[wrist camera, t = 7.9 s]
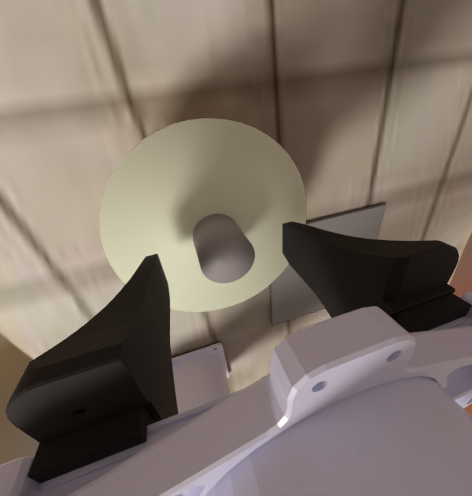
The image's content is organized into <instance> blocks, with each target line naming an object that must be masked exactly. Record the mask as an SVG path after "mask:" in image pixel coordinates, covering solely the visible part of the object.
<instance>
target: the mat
mask: <svg viewBox="0 0 472 496" xmlns="http://www.w3.org/2000/svg"><path fill="white" fill-rule="evenodd" d="M385 208H386V204H380V205H376V206H372V207H368V208H364V209H359V210H355V211H351V212H347V213H343V214H339V215H335V216H331V217H327V218H322V219H318V220H314V221H310V222H306V224H305V225H309V226H312V227H316V228H319V229H323V230H326V231H330V232H334V233H338V234H343V235H348V236H353V237H359V238H367V239H376V240H377V238H378V234H379V230H380V227H381V223H382V219H383V216H384V212H385ZM270 291H271V323H272V325H273V326H274V325H277V324H280V323H283V322H286V321H289V320H292V319H295V318H298V317H301V316H304V315H307V314H310V313H313V312H316V311H319V310H322V309H325V307H324V306H323V304H322V303H321V301H320V300H319V298H318V297H317V296H316V294H315V293H314V292H313V291H312V290H311V288H310V287H309V286H308V285H307V284H306V283H305V282H304V281H303V279H302V278H301V277H300V276H299V275H298V274H297V273H296V271H295V270H294V269H293V268H292V267H291V266H290V264H288V266H287V267H286V268H285V270H284V271H283V272H282V273H281V274H280V275H279V276H278V277H277V279H275V280H274V281H273V282H272V283H271V284H270Z"/></svg>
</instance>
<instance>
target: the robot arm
mask: <svg viewBox="0 0 472 496" xmlns="http://www.w3.org/2000/svg"><path fill="white" fill-rule="evenodd" d="M282 253H283V255H284V256H285V258H286V260H287V261H288V263H289V264H290V266H291V267H292V268H293V269H294V270H295V271H296V273H297V274H298V275H299V276H300V277H301V278H302V279H303V281H304V282H305V283H306V284H307V285H308V286H309V287H310V288H311V290H312V291H313V292H314V293H315V294H316V296H317V297H318V298H319V300H320V301H321V303H322V304H323V306H324V307H325V308H326V310H327V311H328V313H329V315H330V316H331V319H328V320H325V321H322V322H319V323H316V324H313V325H310V326H307V327H304V328H302V329H299V330H297V331H295V332H293V333H291V334H289V335H288V336H286V337H285V338H284V339H283V340H282V341H281V342H280V343H279V344H278V345H277V346H276V347H275V349H274V351H273V354H272V357H271V360H270V367H271V372H270V374H268V375H266V376H265V377H263V378H261V379H260V380H258V381H256V382H255V383H253V384H251V385H250V386H248V387H246V388H245V389H242V390H240V391H237V392H234V393H232V394H231V390H230V386H229V382H228V378H229V372H228V367H227V363H226V359H225V354H224V350H223V345H222V343H216V344H213V345H210V346H207V347H204V348H201V349H198V350H195V351H192V352H189V353H186V354H183V355H180V356H177V357H174V358H171V348H170V294H169V287H168V282H167V279H166V276H165V273H164V270H163V268H162V265H161V262H160V259H159V256H158V254H154V255H150V256H146V257H145V258H144V260H143V261H142V263H141V264H140V265H139V267H138V268H137V270H136V271H135V273H134V274H133V276H132V277H131V278H130V280H129V281H128V282H127V283H126V285H125V286H124V287H123V288H122V290H121V291H120V292H119V293H118V294H117V295H116V296H115V298H114V299H113V300H112V301H111V302H110V303H109V304H108V305H107V306H106V307H105V308H104V309H102V310H101V311H100V312H99V313H98V314H97V315H96V316H94V317H93V318H92V319H91V320H90V321H89V322H87V323H86V324H85V325H84V326H82V327H81V328H80V329H78V330H77V331H76V332H74V333H73V334H72V335H70V336H69V337H68V338H66V339H65V340H63V341H62V342H60V343H59V344H57V345H56V346H54V347H53V348H51V349H50V350H48V351H47V352H45V353H43V354H42V355H40V356H39V357H37V358H36V359H34V360H32V361H31V362H30V363H29V365H28V366H27V368H26V370H25V372H24V374H23V376H22V378H21V380H20V382H19V383H18V385H17V387H16V389H15V391H14V392H13V395H12V396H11V398H10V400H9V402H8V404H7V408H6V414H7V418H8V419H9V421H10V422H11V423H12V424H14V425H15V426H16V427H17V428H19V429H20V430H22V431H23V432H25V433H26V434H28V435H29V436H31V437H32V438H34V439H35V440H37V441H38V442H40V444H39V447H38V449H37V452H36V455H35V457H22V458H18V459H15V460H12V461H10V462H7V463H4V464H1V465H0V496H472V416H471V415H470V414H468V413H467V412H466V411H465V410H464V409H463V408H465V407H467V406H468V405H470V404H472V291H471V292H468V293H466V294H464V295H463V296H462V297H461V298H459V297H457V296H456V295H454V294H452V293H454V292H455V289H454V288H453V287H451V286H450V285H448V284H447V283H448V281H449V279H450V277H451V275H452V273H453V271H454V269H455V268H456V265H457V263H458V258H459V254H458V251H457V249H456V248H455V247H453V246H451V245H448V244H446V243H444V242H441V241H437V240H434V241H390V240H376V239H367V238H359V237H353V236H348V235H343V234H338V233H334V232H330V231H326V230H323V229H319V228H316V227H312V226H309V225H305V224H302V223H298V222H288V223H283V224H282Z"/></svg>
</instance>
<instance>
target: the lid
mask: <svg viewBox="0 0 472 496" xmlns="http://www.w3.org/2000/svg"><path fill="white" fill-rule="evenodd" d="M306 216H307V199H306V193H305V187H304V184H303V181H302V178H301V175H300V173H299V171H298V169H297V167H296V165H295V163H294V162H293V160H292V159H291V157H290V156H289V154H288V153H287V152H286V151H285V150H284V149H283V148H282V147H281V146H280V145H279V144H278V143H277V142H276V141H274V140H273V139H272V138H271V137H269V136H268V135H267V134H265V133H263V132H261V131H260V130H258V129H256V128H254V127H251V126H249V125H246V124H243V123H241V122H236V121H231V120H227V119H213V118H201V119H191V120H186V121H182V122H178V123H174V124H171V125H169V126H166V127H164V128H162V129H159V130H157V131H156V132H154V133H152V134H151V135H149V136H148V137H146V138H144V139H143V140H142V141H141V142H140V143H138V144H137V145H136V146H135V147H134V148H133V149H131V150H130V152H129V153H128V154H127V155H126V156H125V158H124V159H123V160H122V161H121V162H120V164H119V165H118V166H117V168H116V169H115V171H114V173H113V174H112V176H111V178H110V179H109V182H108V184H107V187H106V189H105V192H104V194H103V199H102V203H101V208H100V222H99V226H100V235H101V241H102V244H103V248H104V251H105V254H106V256H107V258H108V260H109V263H110V265H111V266H112V268H113V269H114V271H115V272H116V274H117V275H118V276H119V277H120V279H121V280H122V281H123V282H124V283H125V284H126V283H127V282H128V281H129V280H130V278H131V277H132V276H133V274H134V273H135V271H136V270H137V268H138V267H139V265H140V264H141V263H142V261H143V260H144V258H145V257H146V256H150V255H154V254H158V256H159V259H160V262H161V265H162V268H163V270H164V273H165V276H166V279H167V282H168V287H169V294H170V309H174V310H179V311H188V312H203V311H213V310H218V309H223V308H226V307H230V306H233V305H236V304H238V303H241V302H243V301H245V300H247V299H249V298H251V297H253V296H254V295H256V294H258V293H259V292H261V291H262V290H264V289H265V288H266V287H268V286H269V285H270V284H271V283H272V282H273V281H274V280H275V279H277V277H278V276H279V275H280V274H281V273H282V272H283V271H284V270H285V268H286V267H287V266H288V264H289V263H288V261H287V260H286V258H285V256H284V255H283V253H282V224H283V223H288V222H298V223H302V224H306Z"/></svg>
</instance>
